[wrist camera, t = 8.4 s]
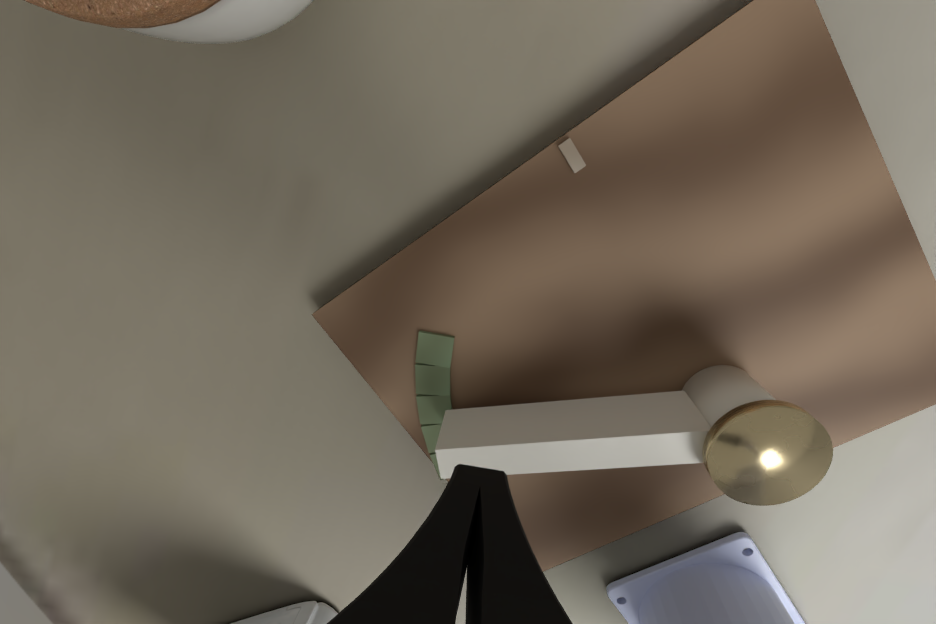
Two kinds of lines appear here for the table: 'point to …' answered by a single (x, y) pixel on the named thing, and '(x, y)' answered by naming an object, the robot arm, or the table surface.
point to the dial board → (665, 272)
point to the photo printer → (295, 615)
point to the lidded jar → (184, 17)
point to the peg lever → (653, 436)
